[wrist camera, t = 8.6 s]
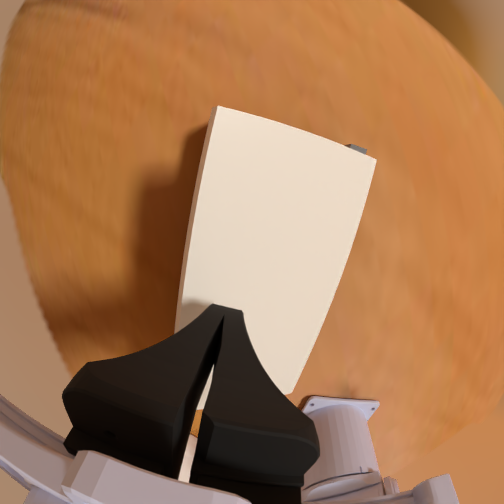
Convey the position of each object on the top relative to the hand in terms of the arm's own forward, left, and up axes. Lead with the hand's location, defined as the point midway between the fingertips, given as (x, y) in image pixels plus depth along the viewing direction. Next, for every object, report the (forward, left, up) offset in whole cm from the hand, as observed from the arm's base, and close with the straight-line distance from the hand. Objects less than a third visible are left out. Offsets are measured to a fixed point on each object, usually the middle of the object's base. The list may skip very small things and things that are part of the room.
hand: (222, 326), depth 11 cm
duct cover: (0, -2, -4) cm, 4 cm away
